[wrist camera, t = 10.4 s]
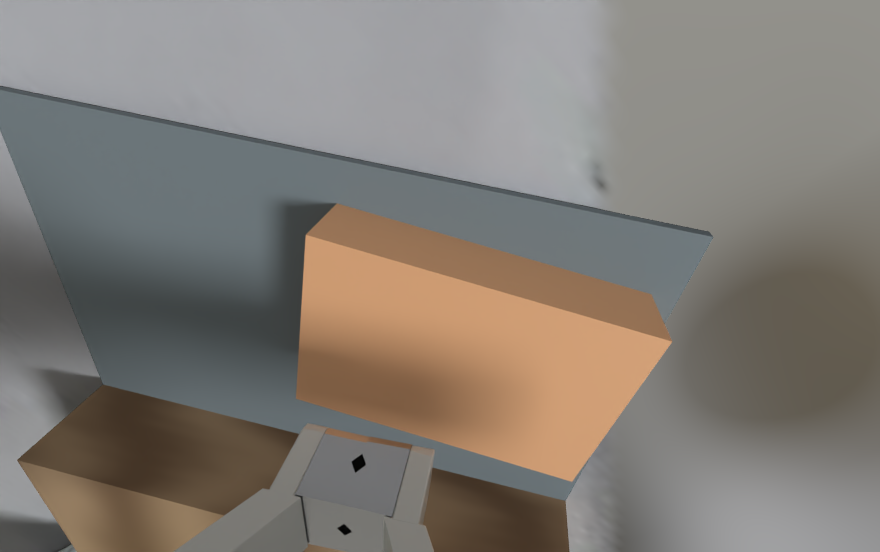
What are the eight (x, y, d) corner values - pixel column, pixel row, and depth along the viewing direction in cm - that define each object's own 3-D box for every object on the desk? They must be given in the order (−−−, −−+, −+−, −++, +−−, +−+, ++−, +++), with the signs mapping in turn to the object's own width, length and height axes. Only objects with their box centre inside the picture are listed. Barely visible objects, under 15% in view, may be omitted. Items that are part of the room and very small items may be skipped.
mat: (108, 379, 19) (103, 384, 18) (-7, 84, 12) (-18, 86, 12) (564, 493, 17) (565, 500, 17) (709, 231, 11) (713, 236, 11)
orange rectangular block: (305, 234, 10) (336, 203, 12) (295, 398, 13) (321, 356, 15) (672, 341, 10) (651, 294, 12) (571, 482, 13) (567, 429, 15)
